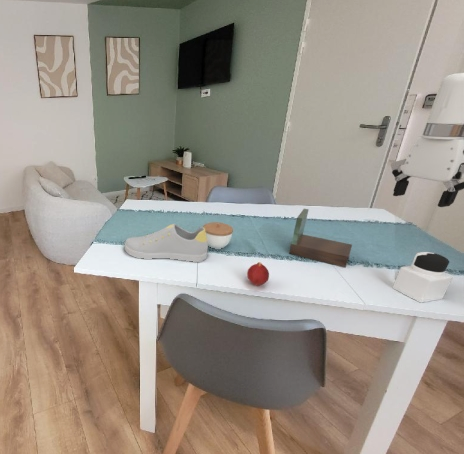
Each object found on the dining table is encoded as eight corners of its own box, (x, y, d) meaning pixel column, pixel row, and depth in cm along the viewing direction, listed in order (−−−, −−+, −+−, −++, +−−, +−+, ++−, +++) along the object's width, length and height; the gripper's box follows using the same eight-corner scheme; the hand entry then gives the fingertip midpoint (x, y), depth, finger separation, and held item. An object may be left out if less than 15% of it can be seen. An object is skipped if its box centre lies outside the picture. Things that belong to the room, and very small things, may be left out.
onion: (250, 277, 92) (254, 255, 89) (269, 284, 88) (274, 261, 85) (242, 285, 88) (246, 262, 85) (262, 293, 84) (266, 269, 81)
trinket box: (203, 238, 119) (205, 217, 116) (231, 242, 115) (234, 220, 111) (199, 249, 110) (201, 227, 107) (229, 254, 106) (232, 230, 102)
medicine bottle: (442, 299, 78) (462, 260, 73) (420, 303, 77) (438, 264, 72) (412, 284, 84) (428, 247, 79) (391, 287, 83) (406, 251, 79)
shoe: (206, 266, 99) (209, 234, 94) (121, 256, 108) (121, 226, 104) (206, 252, 108) (209, 222, 103) (128, 244, 117) (128, 216, 113)
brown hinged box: (348, 254, 101) (360, 217, 96) (345, 267, 94) (357, 228, 88) (295, 242, 111) (303, 208, 106) (289, 253, 104) (297, 217, 99)
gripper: (513, 132, 61) (476, 209, 68) (415, 127, 77) (393, 190, 83) (487, 135, 60) (452, 213, 66) (393, 129, 75) (372, 193, 82)
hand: (419, 200), depth 75 cm, fingers open, 9 cm apart
